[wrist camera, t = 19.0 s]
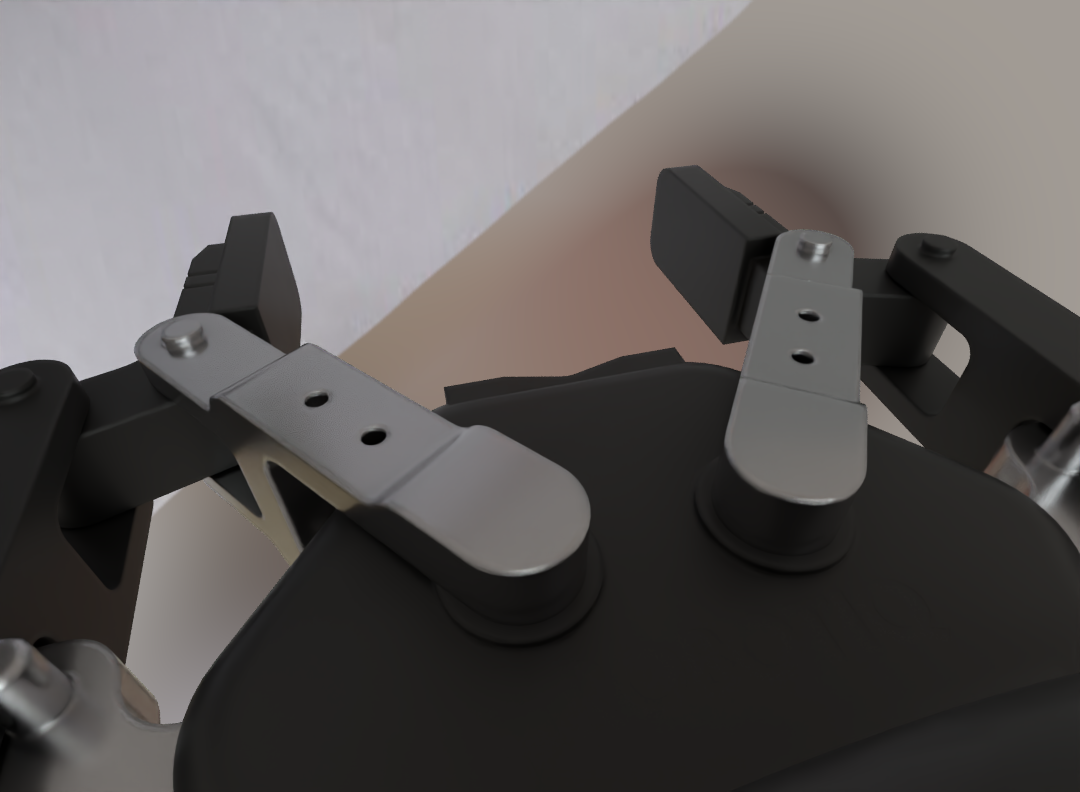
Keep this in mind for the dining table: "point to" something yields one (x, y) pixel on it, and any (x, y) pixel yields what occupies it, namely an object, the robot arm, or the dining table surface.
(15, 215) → the dining table surface
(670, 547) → the robot arm
